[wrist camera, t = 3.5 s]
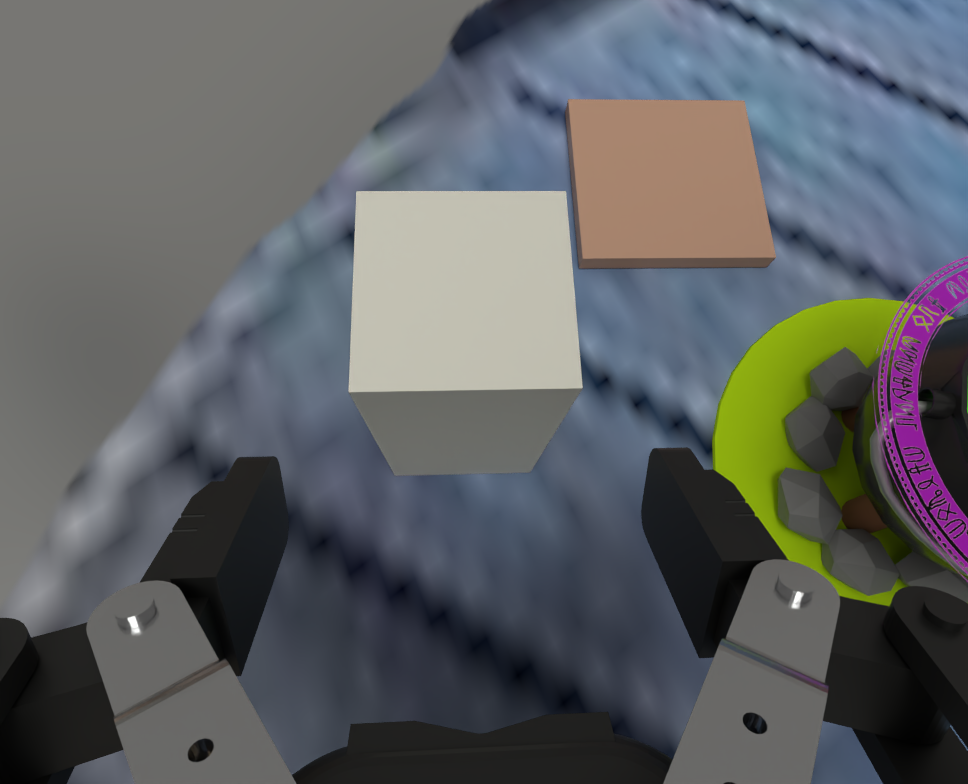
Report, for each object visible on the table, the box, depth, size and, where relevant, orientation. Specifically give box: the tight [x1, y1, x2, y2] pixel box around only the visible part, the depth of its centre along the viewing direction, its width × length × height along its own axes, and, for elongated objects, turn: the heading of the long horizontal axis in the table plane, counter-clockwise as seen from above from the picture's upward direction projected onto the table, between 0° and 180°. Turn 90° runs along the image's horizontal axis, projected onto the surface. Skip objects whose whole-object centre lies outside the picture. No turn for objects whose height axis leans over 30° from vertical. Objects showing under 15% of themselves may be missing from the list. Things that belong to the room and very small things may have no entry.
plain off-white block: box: [349, 191, 583, 476], centre depth 19 cm, size 5×5×10 cm
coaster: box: [565, 99, 776, 268], centre depth 26 cm, size 8×8×1 cm
